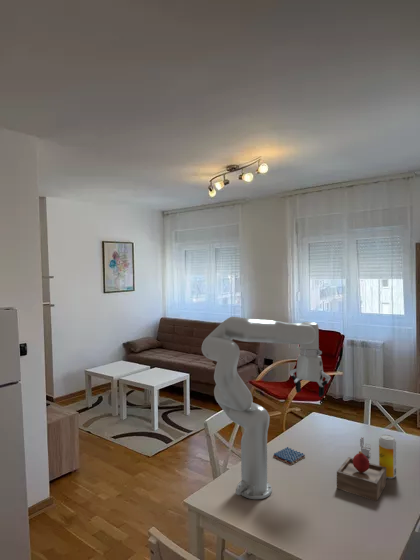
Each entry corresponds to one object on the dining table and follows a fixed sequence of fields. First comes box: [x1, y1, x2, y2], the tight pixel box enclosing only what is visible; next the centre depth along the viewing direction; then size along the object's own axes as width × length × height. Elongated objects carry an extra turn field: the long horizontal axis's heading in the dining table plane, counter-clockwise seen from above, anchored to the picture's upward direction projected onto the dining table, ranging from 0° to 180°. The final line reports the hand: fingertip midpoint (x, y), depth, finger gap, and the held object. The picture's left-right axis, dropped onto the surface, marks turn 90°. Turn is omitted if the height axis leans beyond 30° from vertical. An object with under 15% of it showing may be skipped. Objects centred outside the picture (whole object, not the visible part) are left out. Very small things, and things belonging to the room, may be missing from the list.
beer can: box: [378, 434, 397, 480], centre depth 150 cm, size 6×6×15 cm
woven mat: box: [272, 446, 306, 466], centre depth 165 cm, size 10×11×2 cm
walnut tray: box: [336, 457, 387, 502], centre depth 142 cm, size 14×14×6 cm
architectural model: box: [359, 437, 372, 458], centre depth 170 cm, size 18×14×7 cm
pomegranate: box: [353, 450, 371, 473], centre depth 142 cm, size 6×6×8 cm
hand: (309, 393), depth 156 cm, fingers open, 9 cm apart
